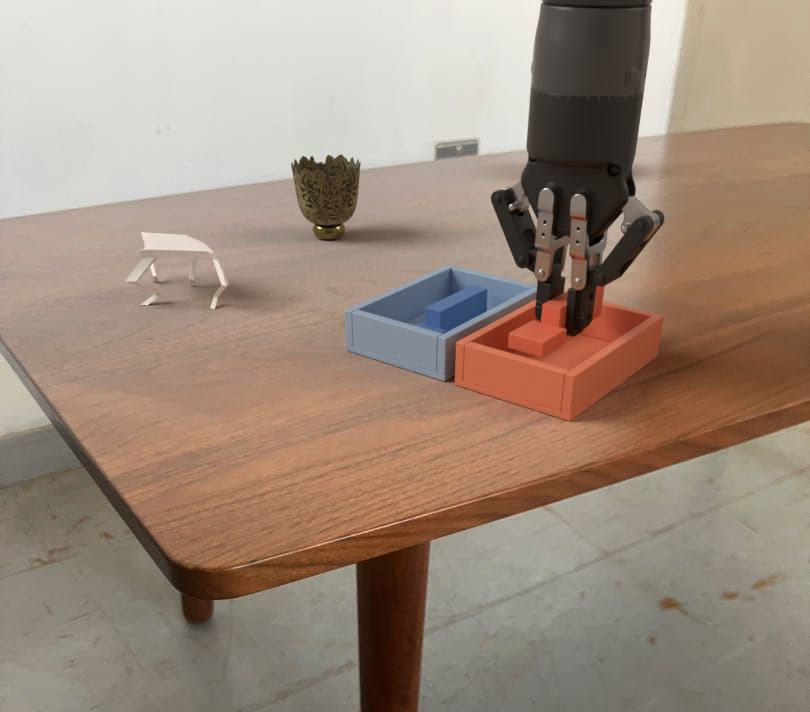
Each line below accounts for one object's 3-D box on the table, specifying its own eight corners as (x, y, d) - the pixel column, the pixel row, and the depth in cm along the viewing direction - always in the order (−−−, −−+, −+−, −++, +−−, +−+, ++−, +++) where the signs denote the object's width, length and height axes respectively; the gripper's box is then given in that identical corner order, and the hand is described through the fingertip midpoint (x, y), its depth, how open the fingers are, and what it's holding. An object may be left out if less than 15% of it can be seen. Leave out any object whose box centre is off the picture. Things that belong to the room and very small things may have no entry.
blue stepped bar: (465, 311, 82) (466, 283, 81) (493, 318, 81) (494, 290, 79) (393, 347, 75) (392, 317, 74) (422, 356, 74) (422, 325, 72)
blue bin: (541, 325, 81) (544, 286, 79) (444, 381, 71) (445, 339, 69) (447, 301, 86) (448, 264, 84) (345, 350, 76) (344, 309, 74)
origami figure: (103, 303, 85) (93, 250, 83) (156, 275, 92) (148, 225, 89) (213, 321, 82) (207, 266, 79) (261, 291, 88) (256, 239, 85)
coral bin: (657, 356, 75) (664, 315, 73) (569, 421, 66) (575, 376, 64) (550, 328, 80) (554, 289, 78) (454, 384, 71) (455, 341, 69)
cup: (358, 225, 106) (356, 152, 102) (367, 244, 100) (365, 167, 96) (293, 229, 105) (288, 154, 101) (298, 248, 99) (293, 170, 95)
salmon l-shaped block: (575, 309, 75) (579, 278, 74) (608, 317, 74) (613, 285, 72) (507, 348, 68) (510, 314, 67) (542, 358, 67) (545, 323, 65)
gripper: (708, 85, 60) (664, 336, 70) (529, 66, 67) (512, 297, 77) (658, 100, 55) (619, 368, 65) (471, 78, 62) (461, 323, 72)
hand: (561, 328), depth 71 cm, fingers closed on salmon l-shaped block, 1 cm apart
